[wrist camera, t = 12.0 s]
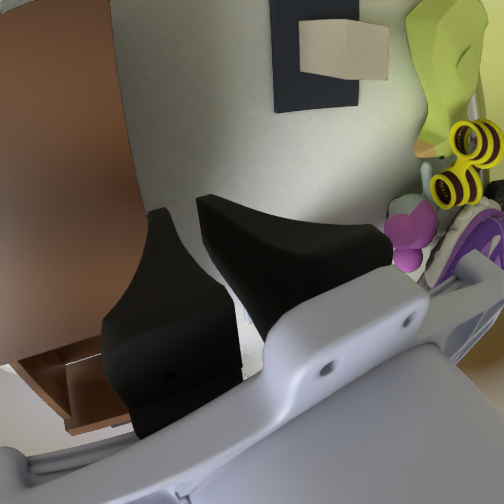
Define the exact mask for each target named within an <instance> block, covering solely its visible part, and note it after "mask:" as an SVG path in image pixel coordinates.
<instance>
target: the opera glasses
mask: <svg viewBox="0 0 504 504" xmlns="http://www.w3.org/2000/svg"><path fill="white" fill-rule="evenodd" d="M472 130H474V131H475V133H476V136H477V147H476V149H475V151H474V152H473V153H472V154H471V153H470V151H469V147H468V138H469V135H470V133H471V131H472ZM449 143H450V146H451V149H452V150H453V152H454V153H455V154H456V155H457V156H458V157H457V160H454V161H453V162H452V163H451V164H450V166H449V167H447V168H446V169H444V170H443V171H442V172H441V173H440V174H437V175H435V176H433V177H432V178H431V180H430V193H431V196H432V198H433V200H434V202H435V203H436V204H437V205H438V206H439V207H440V208H442V209H449V208H451V207H453V206H461V205H464V204H466V203H467V204H470V205H474V204H477V203H478V202H479V201H480V200H481V197H482V184H481V180H480V178H479V175H478V174H477V172H476V170H475V169H474V168H473V166H471V165H472V164H473V165H474V166H476V167H478V168H482V169H489V168H492V167H494V166H496V165H497V164H498V163H499V162H500V161H501V159H502V157H503V155H504V136H503V133H502V131H501V130H500V128H499V127H498V126H497V125H496V124H495V123H493V122H492V121H490V120H487V119H477V120H474V121H459V122H457V123H455V124H454V125H453V126H452V128H451V131H450V134H449Z"/></svg>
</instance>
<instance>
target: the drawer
mask: <svg viewBox="0 0 504 504" xmlns="http://www.w3.org/2000/svg"><path fill="white" fill-rule="evenodd" d="M99 353H101V334H99V335H96V336H93V337H90V338H87V339H84V340H81V341H78V342H75V343H72V344H69V345H66V346H63V347H59V348H56V349H53V350H50V351H47V352H44V353H40V354H37V355H34V356H31V357H28V358H24V359H21V360H18V361H15V362H11V363H9V365H10V366H11V367H12V368H13V369H14V370H15V371H16V372H17V374H18V375H19V376H20V377H21V378H22V379H23V380H24V381H25V382H26V383H27V384H28V385H29V386H30V387H31V388H32V390H33V391H35V393H36V394H37V395H38V396H39V397H40V398H42V400H43V401H44V402H46V403H47V404H48V405H49V406H50V407H51V408H52V409H53V410H54V411H55V412H56V413H57V414H58V415H60V417H62V418H63V419H64V424H65V430H66V431H67V432H68V433H69V434H70V435H72V436H74V435H79V434H82V433H86V432H90V431H94V430H98V429H101V428H105V427H108V426H111V427H112V428H114V427H118V426H121V425H124V424H128V423H131V418H130V415H129V411H128V408H127V407H126V406H125V405H124V404H123V402H122V401H121V400H120V398H119V397H118V396H117V395H116V393H115V392H114V391H113V389H112V388H111V387H110V386H109V384H108V382H107V380H106V378H105V375H104V369H103V364H102V359H101V355H97V356H94V357H91V358H88V359H85V360H82V361H79V362H75V363H72V364H69V365H66V366H65V364H68V363H71V362H74V361H77V360H80V359H84V358H87V357H90V356H93V355H96V354H99Z"/></svg>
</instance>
